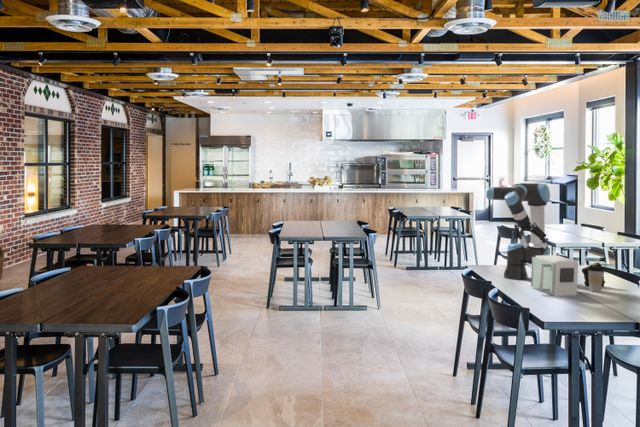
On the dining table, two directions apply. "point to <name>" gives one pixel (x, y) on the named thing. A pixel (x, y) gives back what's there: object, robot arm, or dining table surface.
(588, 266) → the dark bumpy flat shape
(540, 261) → the side door
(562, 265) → the machine housing
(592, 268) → the coffee cup
